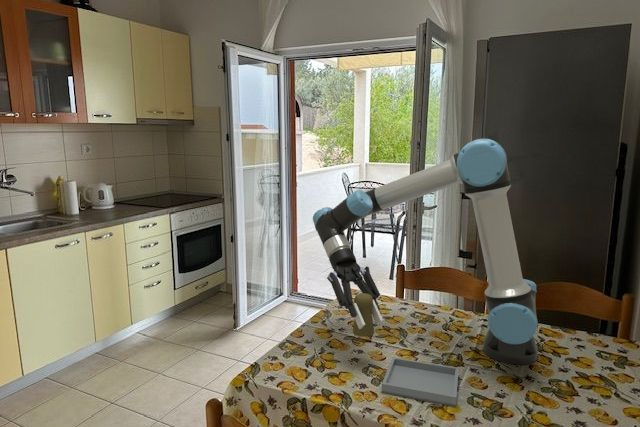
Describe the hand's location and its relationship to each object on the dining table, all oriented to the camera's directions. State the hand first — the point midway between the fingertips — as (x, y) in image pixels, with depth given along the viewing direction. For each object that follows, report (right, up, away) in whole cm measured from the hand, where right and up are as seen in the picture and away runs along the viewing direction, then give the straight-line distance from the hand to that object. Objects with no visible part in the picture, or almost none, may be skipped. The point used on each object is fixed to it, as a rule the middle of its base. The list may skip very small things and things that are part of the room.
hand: (371, 324), depth 120 cm
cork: (-2, -3, +4) cm, 5 cm away
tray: (+13, -14, -5) cm, 20 cm away
